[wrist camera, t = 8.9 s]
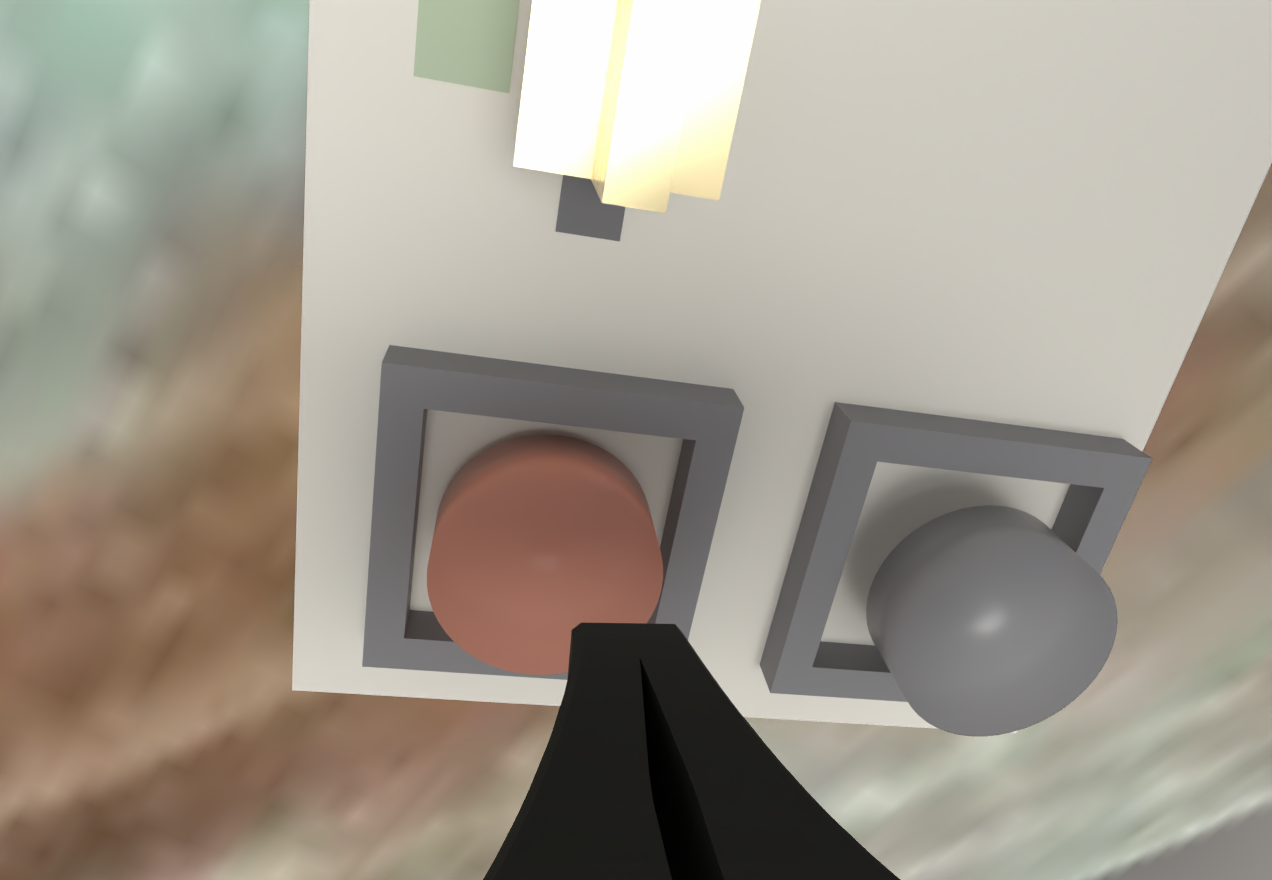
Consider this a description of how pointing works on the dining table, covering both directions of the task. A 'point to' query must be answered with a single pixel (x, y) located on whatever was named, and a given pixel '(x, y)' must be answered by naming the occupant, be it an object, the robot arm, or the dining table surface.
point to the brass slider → (634, 94)
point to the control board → (759, 312)
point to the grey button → (989, 621)
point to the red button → (541, 551)
